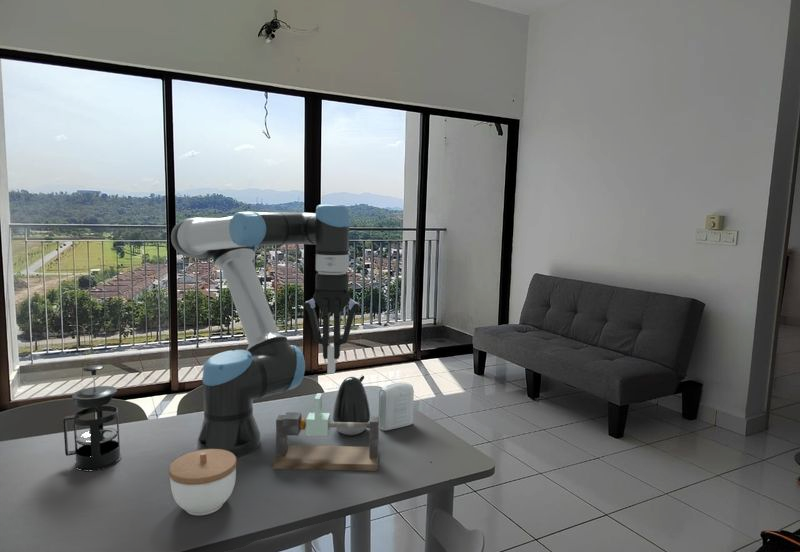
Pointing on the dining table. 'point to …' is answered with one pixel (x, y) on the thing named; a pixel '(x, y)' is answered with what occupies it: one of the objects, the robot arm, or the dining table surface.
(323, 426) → the pale green block
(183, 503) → the lidded bowl
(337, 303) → the robot arm
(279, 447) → the rod stand
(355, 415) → the pump dispenser
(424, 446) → the dining table surface
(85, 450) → the french press
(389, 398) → the photo printer
